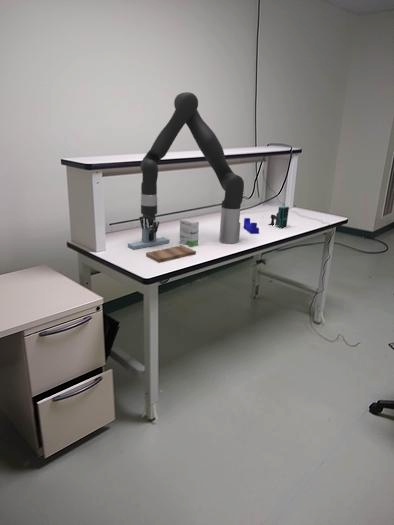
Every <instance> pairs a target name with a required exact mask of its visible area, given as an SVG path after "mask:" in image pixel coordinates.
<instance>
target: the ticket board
mask: <svg viewBox="0 0 394 525" xmlns="http://www.w3.org/2000/svg"><path fill="white" fill-rule="evenodd" d="M195 255H197V251H196V250H194V249H192V248H189V247H187V246H186V245H185V246H184V245H183V244H181V245H179V246H172V247H167V248H162V249H157V250H153V251H147V252H145V257H147V258H149V259H151V260H153V261H155V262H157V263H158V264H160V263H164V262H169V261H172V260H177V259H181V258H185V257H190V256H195Z"/></svg>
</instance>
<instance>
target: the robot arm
mask: <svg viewBox="0 0 394 525" xmlns="http://www.w3.org/2000/svg"><path fill="white" fill-rule="evenodd" d="M173 104H174V106H173V107H174V109H175V110H174V112H173V114H172V116H171V118H170V119H169V120H168V122H167V123H166V125H165V126H164V127H163V128H162V130H161V131H160V132H159V133H158V135H157V137H156V138H155V140H154V142H153V143H152V146H151V147H150V149H149V150H148V151H147V153H146V154H145V155H144V157H143V158H142V160H141V162H140V170H141V171H142V174H141V175H142V181H141V187H140V188H141V189H140V190H141V192H140V214H141V215H142V216H139V217H138V218H139V223H140V226H141V230H142V229H149V241H153V240H154V233H155V232H156V233H157V232H158V229H159V226H160V221H157V220H156V215H157V214H158V194H157V193H158V192H157V191H158V186H157V185H158V184H157V183H158V175H159V166H158V164H160V162H161V160H162V159H164V158H165V157H166V155H167V153H168V152H169V150H170V148H171V146H172V145H173V143H174V142H175V140H176V138H177V136H178V134H179V133H180V132H181V130H182V128H183V127H184V126H185V125H187V127H188V129H189V131H190V133H191V135H192V138H193V139H194V141H195V143H196V145H197V147H198V149H200V151H201V153H202V155H203V157H204V158H205V160H206V161H207V162H208V164H209V165H210V167H211V168H212V170H213V172H214V174H215V175H216V177H217V179H218V183H219V184H220V187H221V188H222V189H223V191H224V199H223V200H222V202H221V209H220V210H221V212H220V227H219V242H220V243H223V244H237V243H238V242H240V236H241V235H240V233H241V222H240V216H241V206H242V202H243V199H244V198H243V197H244V192H245V191H244V190H245V182H244V179H243V178H242V176H240V175H238V174H235V172H234V171H233V170H232V169H231V167H230V165H229V164H228V162H227V159H226V156H225V151H224V149H223V146H222V144H221V142H220V141H219V139H218V137H217V135H216V133H215V132H214V131H213V130H212V129H211V127H209V125H208V124H207V123H206V122H205V121H204V119H203V118H202V116H201V115H200V113H199V110H198V108H199V99H198V97H197V96H196V95H195V93H192V92H188V91H186V92H181V93H179V94H177V95H176V96H175V98H174V102H173ZM151 228H152V230H151ZM154 229H155V230H154Z"/></svg>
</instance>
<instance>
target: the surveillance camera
mask: <svg viewBox="0 0 394 525" xmlns="http://www.w3.org/2000/svg"><path fill="white" fill-rule="evenodd" d="M289 211H290V207H289V206H286V207H285V206H279V207H278V212H277V213H276V215H275V214H271V215H270V219H271V222H270V223H269V224H267V225H268V226H270V225H272V227H274V226H273V225H274V224H275V226H278V228H280V229H285V228H284V227H286V226H287V225H288V217H289ZM286 228H287V227H286Z"/></svg>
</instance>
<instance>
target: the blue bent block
mask: <svg viewBox="0 0 394 525" xmlns="http://www.w3.org/2000/svg"><path fill="white" fill-rule="evenodd" d="M243 229H244V230H245V231H246V232H248V233H249V234H250V235H259V233H260V228H259V227H258V223H257V222H251V218H250V217H244V220H243Z"/></svg>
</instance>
